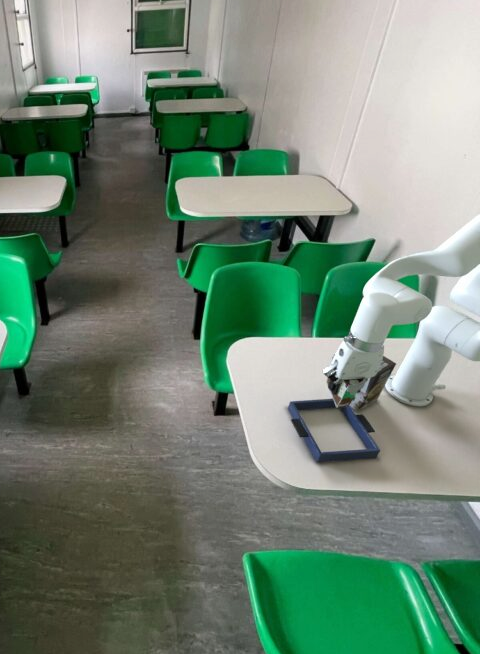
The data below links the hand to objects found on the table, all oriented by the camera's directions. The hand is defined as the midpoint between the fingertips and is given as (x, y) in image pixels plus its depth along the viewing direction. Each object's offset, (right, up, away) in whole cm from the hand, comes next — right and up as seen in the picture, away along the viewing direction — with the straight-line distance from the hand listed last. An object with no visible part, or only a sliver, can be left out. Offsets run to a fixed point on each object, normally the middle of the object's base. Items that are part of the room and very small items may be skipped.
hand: (343, 389), depth 114 cm
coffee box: (+15, -7, +18) cm, 25 cm away
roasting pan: (+1, -14, +9) cm, 17 cm away
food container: (+1, -2, +2) cm, 3 cm away
